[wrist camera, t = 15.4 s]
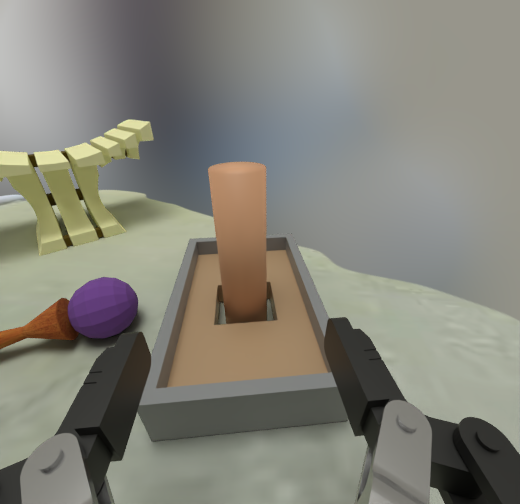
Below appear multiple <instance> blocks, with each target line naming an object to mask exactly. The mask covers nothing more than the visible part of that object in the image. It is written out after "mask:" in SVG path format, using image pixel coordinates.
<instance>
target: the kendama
mask: <svg viewBox="0 0 520 504" xmlns="http://www.w3.org/2000/svg"><path fill="white" fill-rule="evenodd" d="M137 309H138V298H137V295H136V293H135V292H134V290H133V289H132V288H131V287H130V285H129V284H127V283H125V282H123V281H121V280H119V279H116V278H107V277H102V278H98V279H95V280H91V281H89V282H88V283H86V284H85V285H83V286H82V287H81V288H79V289H78V290H76V291H75V293H74V294H73V296H72V298H71V300H70V301H69V300H67V299H66V298H61V299H60V300H58V301H57V302H56V303H54V304H53V305H52V306H50V307H49V308H48V309H46V310H45V311H44V312H43V313H41V314H40V315H39V316H37V317H36V318H35V319H33V320H32V321H31V322H29V323H28V324H27V325H25V326H24V327H19V328H15V329H10V330H5V331H0V349H2V348H4V347H6V346H9V345H11V344H14V343H16V342H18V341H21V340H23V339H26V338H42V339H61V340H75V339H76V338H77V336H78V333H81V334H83V335H85V336H87V337H89V338H108V337H110V336H113V335H116V334H119V333H121V332H122V331H123V330H125V329H126V328H127V327H128V326H130V324H131V323H132V321H133V319H134V318H135V316H136V314H137Z"/></svg>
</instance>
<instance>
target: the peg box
mask: <svg viewBox="0 0 520 504" xmlns="http://www.w3.org/2000/svg"><path fill="white" fill-rule="evenodd" d="M266 269H267V299H269V298H270V301H271V306H272V312H273V317H274V321H261V322H248V323H235V324H222V325H218V319H219V306H220V302H224V299H223V291H222V282H221V274H220V266H219V257H218V249H217V240H216V238H198V239H190V240H189V243H188V246H187V249H186V252H185V255H184V258H183V261H182V264H181V267H180V270H179V273H178V276H177V279H176V282H175V285H174V288H173V291H172V294H171V297H170V300H169V303H168V306H167V309H166V312H165V315H164V319H163V322H162V325H161V328H160V331H159V334H158V337H157V340H156V343H155V346H154V349H153V352H152V355H151V368H150V372H149V375H148V378H147V381H146V385H145V388H144V391H143V394H142V397H141V401H140V404H139V407H138V410H137V412H138V414H139V416H140V418H141V420H142V422H143V424H144V426H145V428H146V430H147V432H148V434H149V436H150V438H151V441H161V440H170V439H180V438H189V437H199V436H208V435H218V434H228V433H237V432H247V431H256V430H266V429H275V428H285V427H295V426H304V425H314V424H323V423H333V422H342V421H347V420H348V416H347V413H346V410H345V408H344V405H343V402H342V399H341V396H340V394H339V391H338V388H337V385H336V383H335V380H334V377H333V374H332V372H331V369H330V366H329V363H328V361H327V358H326V355H325V350H324V338H325V332H326V327H327V321H328V319H329V317H328V315H327V312H326V310H325V308H324V306H323V303H322V301H321V299H320V296H319V294H318V292H317V290H316V287H315V285H314V283H313V280H312V278H311V276H310V274H309V271H308V269H307V267H306V264H305V262H304V260H303V258H302V255H301V253H300V251H299V249H298V246H297V244H296V242H295V240H294V237H293V235H292V233H291V234H272V235H266Z"/></svg>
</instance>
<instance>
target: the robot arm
mask: <svg viewBox="0 0 520 504" xmlns="http://www.w3.org/2000/svg"><path fill="white" fill-rule="evenodd" d="M324 350H325V355H326V358H327V361H328V363H329V366H330V369H331V372H332V374H333V377H334V380H335V383H336V385H337V388H338V391H339V394H340V396H341V399H342V402H343V405H344V408H345V410H346V413H347V416H348V419H349V421H350V424H351V427H352V430H353V432H354V435H355V436H361V435H364V436H365V439H366V441H367V444H368V447H367V450H366V455H365V459H364V464H363V468H362V473H361V477H360V481H359V486H358V490H357V495H356V499H355V503H354V504H430V503H429V495H430V487H433V488H436V489H438V490H439V492H440V494H441V497H442V499H443V501H444V503H445V504H520V454H519V453H518V452H517V451H516V449H515V448H514V447H513V445H512V444H511V443H510V441H509V440H508V439H507V438H506V436H505V435H504V434H503V433H502V432H500V431H499V430H498V429H497V428H496V427H494V426H493V425H491V424H490V423H488V422H486V421H484V420H481V419H479V418H474V417H467V418H464V419H463V420H462V421H461V422H460V423H459V424H455V423H451V422H447V421H443V420H439V419H435V418H431V417H428V416H426V415H424V414H423V413H422V412H421V411H420V410H419V409H418V408H417V407H415V406H414V405H412V404H410V403H408V402H407V401H406V399H405V398H404V396H403V395H402V393H401V391H400V390H399V388H398V386H397V384H396V383H395V381H394V379H393V377H392V376H391V374H390V372H389V371H388V369H387V367H386V365H385V364H384V362H383V360H381V357H380V355H379V353H378V351H376V348H375V346H374V344H373V343H372V341H371V339H370V338H369V337H368V336H367V335H366V334H365V333H364V332H363V331H362V330H361V329H353V328H352V326H351V324H350V322H349V321H348V319H347V318H346V317H342V318H329V319H328V321H327V327H326V332H325V338H324ZM150 368H151V354H150V351H149V349H148V346H147V343H146V340H145V337H144V335H143V333H142V332H132V333H122V334H121V335H120V336H119V338H118V340H117V342H116V344H115V346H114V347H110V348H107V349H106V350H105V351H104V352H103V353H102V354H101V355H100V356H99V357H98V358H97V359H96V361H95V362H94V364H93V366H92V368H91V370H90V372H89V375H87V377H86V379H85V381H84V385H83V386H82V387H81V389H80V390H79V392H78V394H77V396H76V398H75V400H74V402H73V403H72V405H71V407H70V409H69V411H68V413H67V415H66V417H65V418H64V420H63V422H62V424H61V426H60V428H59V429H58V431H57V433H56V434H55V435H54V436H53V437H51V438H49V439H48V440H46V441H45V442H43V443H42V444H41V445H40V446H38V447H37V448H36V449H35V450H34V451H33V453H32V454H31V455H30V456H29V458H26V459H24V460H22V461H20V462H17V463H15V464H13V465H10V466H8V467H6V468H3V469H1V470H0V504H115V503H114V499H113V496H112V493H111V489H110V486H109V483H108V480H107V477H106V473H107V470H108V467H109V464H110V462H111V461H120V460H122V458H123V455H124V452H125V449H126V445H127V442H128V439H129V436H130V433H131V429H132V426H133V423H134V420H135V417H136V413H137V410H138V407H139V404H140V401H141V397H142V394H143V391H144V388H145V385H146V381H147V378H148V375H149V372H150Z"/></svg>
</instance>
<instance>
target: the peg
mask: <svg viewBox="0 0 520 504" xmlns="http://www.w3.org/2000/svg"><path fill="white" fill-rule="evenodd" d="M208 173H209V181H210V189H211V198H212V207H213V215H214V223H215V232H216V240H217V249H218V257H219V266H220V274H221V282H222V291H223V299H224V308H225V316H226V324H235V323H248V322H261V321H267V269H266V166H265V165H263V164H259V163H254V162H229V163H222V164H217V165H213V166H211V167H209V168H208Z"/></svg>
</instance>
